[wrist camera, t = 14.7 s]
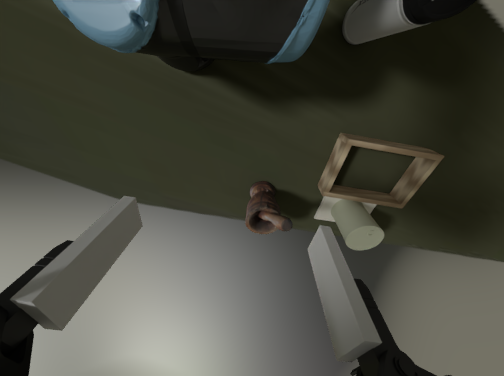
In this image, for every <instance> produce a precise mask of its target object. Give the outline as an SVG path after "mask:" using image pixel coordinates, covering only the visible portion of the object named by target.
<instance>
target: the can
mask: <svg viewBox="0 0 504 376" xmlns="http://www.w3.org/2000/svg"><path fill="white" fill-rule="evenodd" d="M331 215H332V217H333V218H334V220H335V222H336V224H337V226H338V228H339V230H340V232H341V234H342V236H343V238H344V240H345V242H346V245H347V246H348V247H349V248H351V249H354V250H366V249H370V248H372V247H375V246H376V245H378V244H379V243H380V242H381V241H382V240H383V238H384V232H383V230H382V229H381V228H380V227H379V226H378V224H377V223H376V222H375V220H374V219H373V218H372V217H371V215H370V214H369V213H368V211H367V210H366V209H365V207H364V206H363V204H362V202H358V201H352V200H346V199H342V200H339V201H338V202H336V203H335V204H334V205H333V207H332V209H331Z"/></svg>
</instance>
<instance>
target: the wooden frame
mask: <svg viewBox="0 0 504 376" xmlns="http://www.w3.org/2000/svg"><path fill="white" fill-rule="evenodd" d="M351 146H358V147H364V148H369V149H375V150H381V151H386V152H392V153H398V154H403V155H409V156H415V157H416V158H415V159H414V160H413V162H412V163H411V165H410V166H409V167H408V169H407V170H406V171H405V173H404V174H403V176H402V177H401V178H400V180H399V181H398V183H397V184H396V185H395V187H394V188H393V190H392V191H391V192H390V194H388V193H382V192H376V191H370V190H364V189H358V188H351V187H345V186H339V185H333V183H334V181H335V179H336V177H337V175H338V173H339V171H340V169H341V167H342V165H343V162H344V160H345V158H346V156H347V154H348V152H349V150H350V148H351ZM444 157H445V156H443V155H441V154H439V153H437V152H434V151H432V150H430V149H428V148H423V147H418V146H412V145H406V144H401V143H395V142H390V141H384V140H379V139H373V138H367V137H362V136H356V135H351V134H345V133H340V135H339V137H338V140H337V142H336V144H335V147H334V149H333V151H332V153H331V156H330V158H329V160H328V163H327V165H326V167H325V170H324V172H323V174H322V177H321V179H320V181H319V183H318V188H319V190H320V192H321V194H322V196H327V197H333V198H339V199H346V200H352V201H358V202H365V203H371V204H377V205H383V206H390V207H396V208H403V207H404V206H405V205H406V203H407V202H408V201H409V200H410V198H411V197H412V196H413V195H414V193H415V192H416V191H417V190H418V189H419V187H420V186H421V185H422V184H423V182H424V181H425V180H426V179H427V177H428V176H429V175H430V174H431V173H432V171H433V170H434V169H435V168H436V166H437V165H438V164H439V163H440V161H441V160H442V159H443V158H444Z"/></svg>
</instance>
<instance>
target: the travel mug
mask: <svg viewBox="0 0 504 376" xmlns="http://www.w3.org/2000/svg"><path fill="white" fill-rule="evenodd" d="M475 1H476V0H358V1H356V2H355V3H354V4H353V5H352V6H351V7H350V8H349V10H348V11H347V13H346V15H345V17H344V20H343V25H342V32H343V36H344V38H345V40H346V41H347V42H348V43H350V44H353V45H355V44H361V43H364V42H368V41H371V40H375V39H378V38H382V37H385V36H389V35H392V34H395V33H399V32H402V31H406V30H409V29H413V28H416V27H420V26H423V25H427V24H430V23H432V22H435V21H438V20H442V19H445V18H449V17H452V16H454V15H456V14H458V13H460V12H462V11H463V10H465V9H466V8H468V7H469V6H470V5H471V4H473V3H474V2H475Z"/></svg>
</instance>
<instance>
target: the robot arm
mask: <svg viewBox="0 0 504 376" xmlns="http://www.w3.org/2000/svg"><path fill="white" fill-rule="evenodd" d="M329 1H330V0H53V2H54V3H55V4H56V6H57V7H58V8H59V10H60V11H61V12H62V13H63V14H64V15H65V16H66V17H67V18H68V19H69V20H70V21H71V22H73V24H74V25H75V27H76V28H77V29H78V30H79V31H81V32H82V33H83V34H84V35H86V36H87V37H89V38H90V39H92V40H93V41H95V42H97V43H99V44H101V45H104V46H107V47H110V48H112V49H114V50H117V51H118V52H123V53H134V52H137V53H143V54H149V55H155V56H158V57H159V58H160V59H161V60H162V61H164V62H165V63H166V64H168V65H170V66H172V67H174V68H176V69H179V70H183V71H197V70H200V69H203V68H205V67H206V66H208V65H209V64H210V63H211V62H212V61H213V60H214V59H225V60H236V61H248V62H260V63H265V64H271V63H273V62H292V61H295V60H297V59H298V58H299V57H301V56H302V55H303V54H304V52H305V51H306V50H307V49H308V47H309V46H310V44H311V42H312V40H313V39H314V37H315V35H316V33H317V31H318V28H319V26H320V24H321V22H322V19H323V17H324V14H325V12H326V9H327V6H328V4H329ZM141 227H142V222H141V218H140V214H139V210H138V206H137V202H136V198H135V197H128V196H123V197H122V198H121V199H120V200H119V201H118V202H117V203H116V204H115V205H114V206H113V207H111V208H110V209H109V210H108V211H107V212H106V213H105V214H104V215H103V216H101V217H100V218H99V219H98V220H97V221H96V222H95V223H94V224H93V225H92V226H90V227H89V228H88V229H87V230H86V231H85V232H84V233H83V234H82V235H80V236H79V237H78V238H77V239H76V240H75V241H68V240H67V241H65V242H64V243H62V244H60V245H58V246H56V247H55V248H53V249H52V250H51V251H50V252H49V253H48V254H46V255H45V256H44V258H43V259H41V260H39V261H38V262H37V263H36V264H35V266H32V267H31V268H30V269H29V270H28V271H26V272H25V273H24V274H23V275H22V276H20V277H19V278H18V279H17V280H16V281H15V282H13V283H12V284H11V285H10V286H9V287H7V288H6V289H5V290H4V291H3V292H2V293H0V376H28V375H29V368H30V360H31V352H32V345H33V338H34V334H33V329H34V328H35V327H36V325H37V324H40V325H41V326H42V327H43V328H45V329H53V330H63V329H64V327H65V326H66V325H67V323H68V322H69V321H70V320H71V318H72V317H73V316H74V314H75V313H76V312H77V311H78V309H79V308H80V307H81V305H82V304H83V303H84V301H85V300H86V299H87V298H88V296H89V295H90V294H91V292H92V291H93V290H94V288H95V287H96V286H97V284H98V283H99V282H100V280H101V279H102V278H103V277H104V275H105V274H106V273H107V272H108V270H109V269H110V268H111V266H112V265H113V264H114V262H115V261H116V260H117V258H118V257H119V256H120V255H121V253H122V252H123V251H124V249H125V248H126V247H127V246H128V244H129V243H130V242H131V240H132V239H133V238H134V236H135V235H136V234H137V233H138V231H139V230H140V229H141ZM308 253H309V257H310V261H311V265H312V268H313V272H314V276H315V280H316V284H317V287H318V291H319V294H320V299H321V302H322V306H323V310H324V314H325V318H326V321H327V325H328V329H329V333H330V337H331V341H332V344H333V348H334V352H335V356H336V359H337V361H345V362H352V361H354V360H356V359H358V362H359V365H360V366H359V367H357V368H355V369H354V370H352V372H351V375H352V376H353V375H355V374H356V376H436V375H434V374H432V373H430V372H428V371H426V370H424V369H422V368H420V367H418V366H417V365H415V364H414V362H413V361H412V360H411V359H410V358H409V357H408V356H407V355H406V354H405V353H404V352H402V351H400V349H399V348H398V346H397V345H396V343H395V341H394V339H393V337H392V335H391V333H390V331H389V329H388V327H387V325H386V323H385V321H384V319H383V317H382V315H381V313H380V311H379V310H378V307H377V305H376V303H375V301H374V300H373V297H372V295H371V293H370V291H369V289H368V288H367V286H366V285H365V284H364V283H363V281H362V280H360V279H353V277H352V275H351V272H350V270H349V268H348V266H347V263H346V261H345V259H344V257H343V255H342V252H341V250H340V248H339V245H338V243H337V241H336V239H335V237H334V234H333V232H332V230H331V228H330V227H328V226H321V225H320V226H319V228H318V230H317V232H316V234H315V236H314V238H313V240H312V242H311V244H310V246H309V248H308ZM446 376H451V375H446Z"/></svg>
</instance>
